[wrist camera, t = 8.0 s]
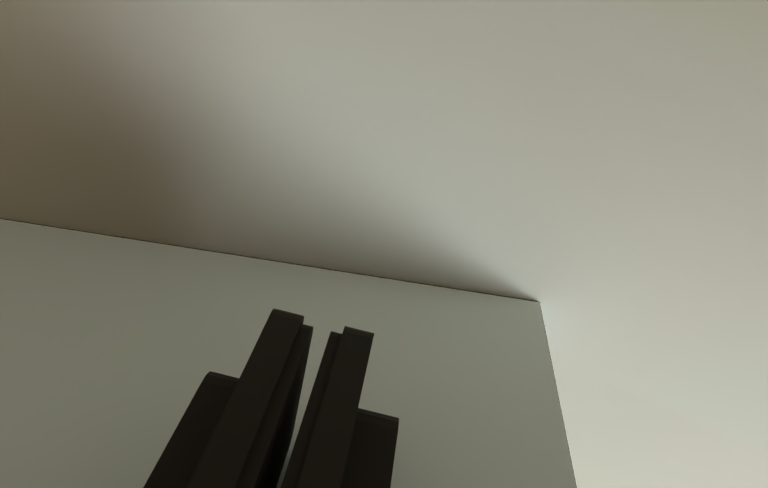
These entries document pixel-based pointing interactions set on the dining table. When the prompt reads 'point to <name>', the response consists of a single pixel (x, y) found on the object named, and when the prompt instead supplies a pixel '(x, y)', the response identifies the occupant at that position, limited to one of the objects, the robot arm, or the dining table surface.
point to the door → (232, 350)
